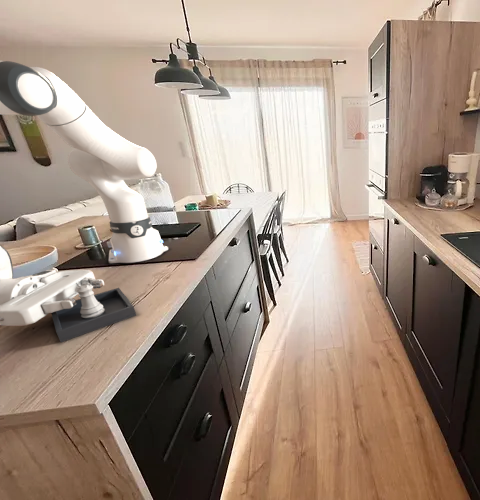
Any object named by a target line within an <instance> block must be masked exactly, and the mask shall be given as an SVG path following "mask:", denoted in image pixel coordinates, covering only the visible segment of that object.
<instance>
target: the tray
mask: <svg viewBox="0 0 480 500" xmlns="http://www.w3.org/2000/svg"><path fill="white" fill-rule="evenodd" d="M94 296H95V298H96V300H97V301H98V302H100V304H102V305H103V308H104V309H105V311H104V312H103V313H102V314H101V315H99V316H97V317H94V318H89V319H86V318H83V317H81V315H82V314H81V313H80V311H81V307H82V302H81V298H78V299H75V302H76V305H75V306H73V307H72V308H69V309H62V310H59V311H55V312H52V313H50V314H51V318H52V322H53V325H54V329H55V333H56V335H57V337H58V340H59V342H60V343H63V342H66V341H69V340H71V339H74V338H78V337H80V336H83V335H85V334H88V333H92V332H94V331H96V330H100V329H102V328H105V327H107V326H110V325H113V324H117V323H119V322H121V321H124V320H127V319H130V318H133V317H135V316H137V313H136V310H135V306H134V305H133V304H132V302H131V301H130V299H128V297H127V296H126V295H125V293H124V292H123V291H122V290H121V288H120V287H116V288H112V289H109V290H106V291H102V292H99V293H96V294H95V293H94Z"/></svg>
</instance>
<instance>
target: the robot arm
mask: <svg viewBox="0 0 480 500" xmlns="http://www.w3.org/2000/svg"><path fill="white" fill-rule="evenodd" d="M0 115H1V116H6V115H8V116H9V115H10V116H11V115H13V116H26V117H37V118H38V119H39V120H40V121H41V122H42V123H43V124H44V125H45V126H46V127H47V128H49V129H50V131H52V133H54V134H55V135H57V136H58V137H59V139H61V140H62V141H63V142H64V143H65V144H67V145H68V146H70V148H71V147H72V148H73V149H71V150H70V151H69V152H68V154H67V165H68V167H69V169H70V170H71V171H72V173H74V174H75V175H76V176H77V177H79V178H81V179H83V180H84V181H86V182H87V183H88V184H89V185H90V186H91V187H92V188H93V189H94V190H95V191H96V192H97V194H98V195H99V196H100V198H101V200H102V202H103V204H104V206H105V210H106V212H107V215H108V217H109V229H110V231H111V232H112V235H111V236H110V239H109V241H106V245H107V248H111V249H109V250H108V264H131V263H133V264H134V263H139V262H144V261H149V260H151V259H154V258H157V257H159V256H161V255H162V254H163V253H164V252H167V251H169V246H166V245H163V243H164V240H163V239H162V238H161V235H160V233H159V230H157V229H156V228H154V227H153V222H152V219H151V217H150V216H149V214H148V210H147V206H146V202H145V199H144V196H143V195H142V194H141V193H140V192H138V191H136V190H134V189H131V187H129V186H128V185H127V184H126V181H129V180H130V181H138V180H143V179H147V178H151V177H154V175H155V174H156V172H157V168H158V164H157V160H156V157H155V156H154V154H153V153H152V152H151V150H149V149H148V148H146V147H142V146H139V145H137V144H135V143H133V142H131V141H129V140H127V139H125V138H124V137H122V136H121V135H119V134H118V133H116V132H115V131H113V130H112V129H111V128H110V127H108V126H107V125H106V124H105V123H104V122H102V120H100V119H99V117H98V116H97V115H96V114H95V113H94V112H93V111H92V109H90V108H89V106H88V105H87V104H86V103H85V102H84V101H83V100H82V99H81V97H80V96H79V95H78V94H77V93H76V92H75V91H74V90H73V89H72V88H71V87H69V86H68V84H67V83H65V82H64V81H63V80H62V79H61V78H59V77H58V76H56V75H55V74H54V73H53V72H51V70H48V69H46V68H44V67H39V66H27V65H26V64H25V65H24V64H23V63H22V64H21V63H19V62H15V61H9V60H0ZM82 283H85V285H86V283H90V285H92V286H93V288H92V290H93V289H101V288H102V287H104V286H105V282H104V280H103V279H102V278H100V279H96V276H95V274H94V272H93V271H92V270H89V269H69V270H59V271H57V270H56V269H46V270H42V271H39V272H37V273H33V274H30V275H24V276H19V277H14V267H13V262H12V257H11V255H10V252H9V251H8V250H7V249H6V248H5V247H4V246H2V245H1V244H0V326H4V327H6V326H7V327H21V326H22V327H24V326H29V325H33V324H34V323H37V322H38V321H39V320H42V318H44V317H46V316H48V315H49V314H51V313H52V312H55V311H59V310H62V309H69V308H72V307H73V306H75V305H76V302H75V300H76V299H75V297H76V296H77V295H78V296H79V293H77V292H75V290H76V286H77V285H79V284H80V285H82Z"/></svg>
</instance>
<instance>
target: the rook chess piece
mask: <svg viewBox="0 0 480 500" xmlns="http://www.w3.org/2000/svg"><path fill="white" fill-rule="evenodd" d="M75 292H77V293H79V294H78V298H79V299H81V302H82V307H81V311H80V313H81V314H82V315H81V317H83V318H86V319H89V318H94V317H97V316H99V315H101V314H102V313H103V312H104V311H105V309H104V308H103V305H102V304H100V302H98V301H97V300H96V298H95V296H94V295H95V291H93V286H92V285H90V283H86V285H85V283H82V285H80V284H79V285H77V286H76V290H75Z"/></svg>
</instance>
